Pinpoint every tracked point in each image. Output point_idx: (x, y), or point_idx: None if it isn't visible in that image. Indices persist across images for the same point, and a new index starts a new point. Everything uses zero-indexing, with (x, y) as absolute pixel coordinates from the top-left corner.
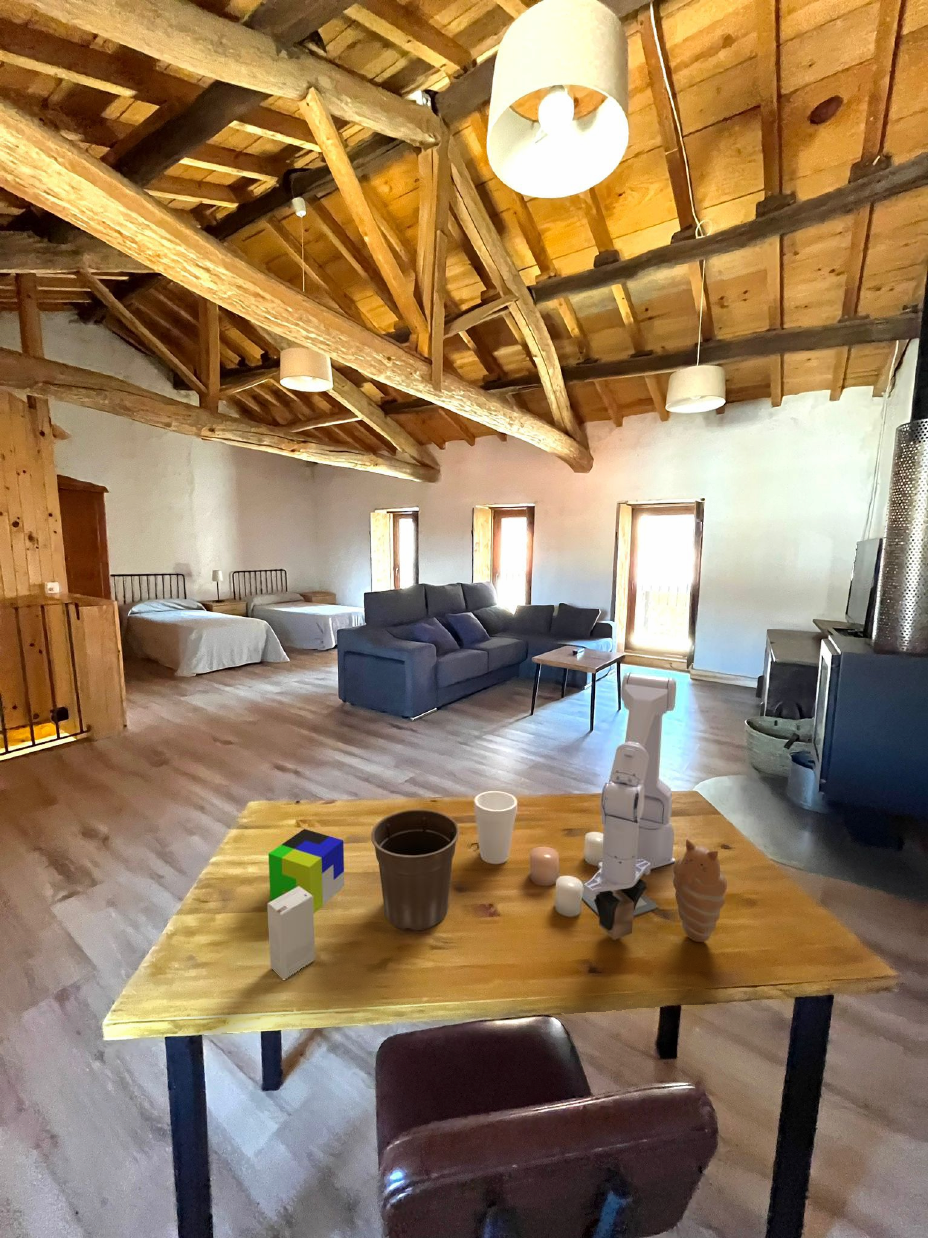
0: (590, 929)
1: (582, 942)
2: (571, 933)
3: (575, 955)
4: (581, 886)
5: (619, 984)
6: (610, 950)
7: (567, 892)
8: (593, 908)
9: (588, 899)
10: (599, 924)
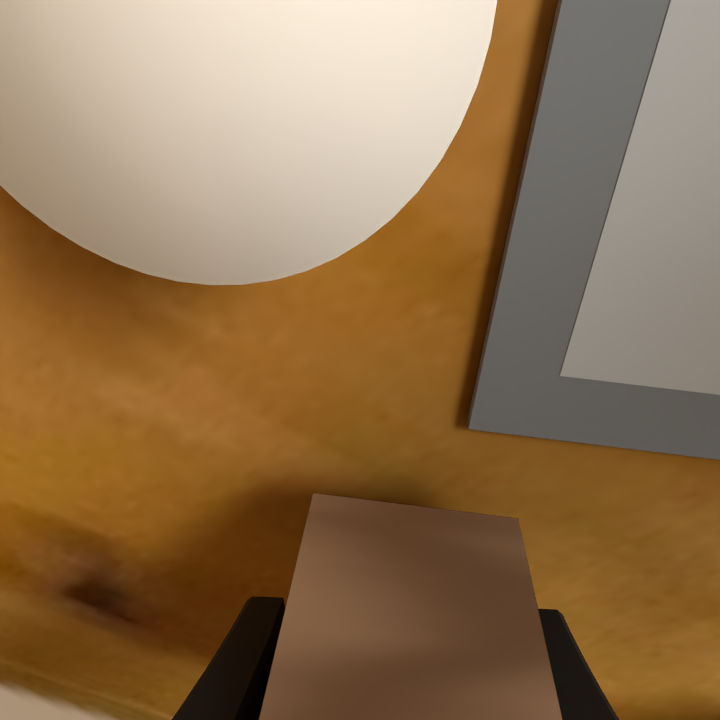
0: (299, 377)
1: (155, 438)
2: (122, 334)
3: (47, 489)
4: (367, 205)
5: (178, 692)
6: (292, 563)
7: (21, 195)
8: (521, 211)
9: (610, 43)
10: (312, 501)
